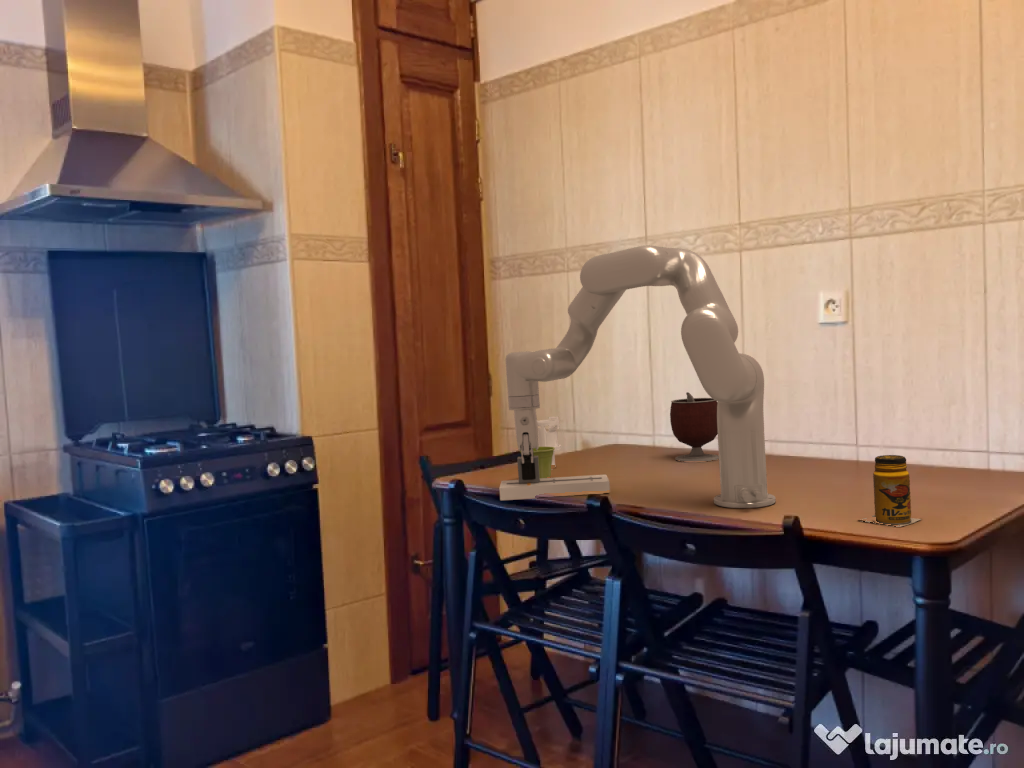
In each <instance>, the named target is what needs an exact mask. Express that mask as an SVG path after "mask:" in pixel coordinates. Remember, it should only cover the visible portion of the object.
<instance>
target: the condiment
mask: <svg viewBox="0 0 1024 768" xmlns="http://www.w3.org/2000/svg"><path fill="white" fill-rule="evenodd" d="M872 475H873V476H872V477H873V497H874V498H873V499H874V500H873V501H874V502H873V503H874V514H873V515H871V516H872V517H876V521H877V522H879V523H883V524H891V525H898V526H896V527H897V528H899V527H900V528H901V527H903V526H908V525H911V524H913V523H917V522H918V521H921V520H922V519H921V518H912V505H911V503H912V499H911V486H910V485H911V480H910V479H911V478H910V473H909V471H908V465H907V459H906V457H905V456H903V455H898V454H886V455H884V454H883V455H878V456H875V458H874V471H873V474H872ZM863 519H867V517H866V518H865V517H864V518H862V520H863ZM870 522H871V521H867V520H866V521H865V523H870ZM873 524H875V523H874V522H873ZM899 525H900V526H899ZM896 527H895V528H896Z"/></svg>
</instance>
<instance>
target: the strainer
mask: <svg viewBox="0 0 1024 768" xmlns="http://www.w3.org/2000/svg"><path fill="white" fill-rule="evenodd" d="M547 418H548V419H541V420H537V426H538V442H539V447H554V448H555V449H554V450H553V455H552V465H555V466H556V460H555V459H556V457H555V456H556V455H555V451H560V450H562V444H559V435H558V431H557V430H560V419H559V418H560V417H559V416H549V417H547ZM546 427H548V431H547V429H546Z"/></svg>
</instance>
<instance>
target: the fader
mask: <svg viewBox="0 0 1024 768" xmlns="http://www.w3.org/2000/svg"><path fill="white" fill-rule="evenodd" d="M516 459H517V473H518V474H517V475H518V480H519V483H534V482H540V476H539V461H538V456H533V463H535V476H536V478H535V479H534V480H523V479H522V467H521V463H522V456H517V458H516Z"/></svg>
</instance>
